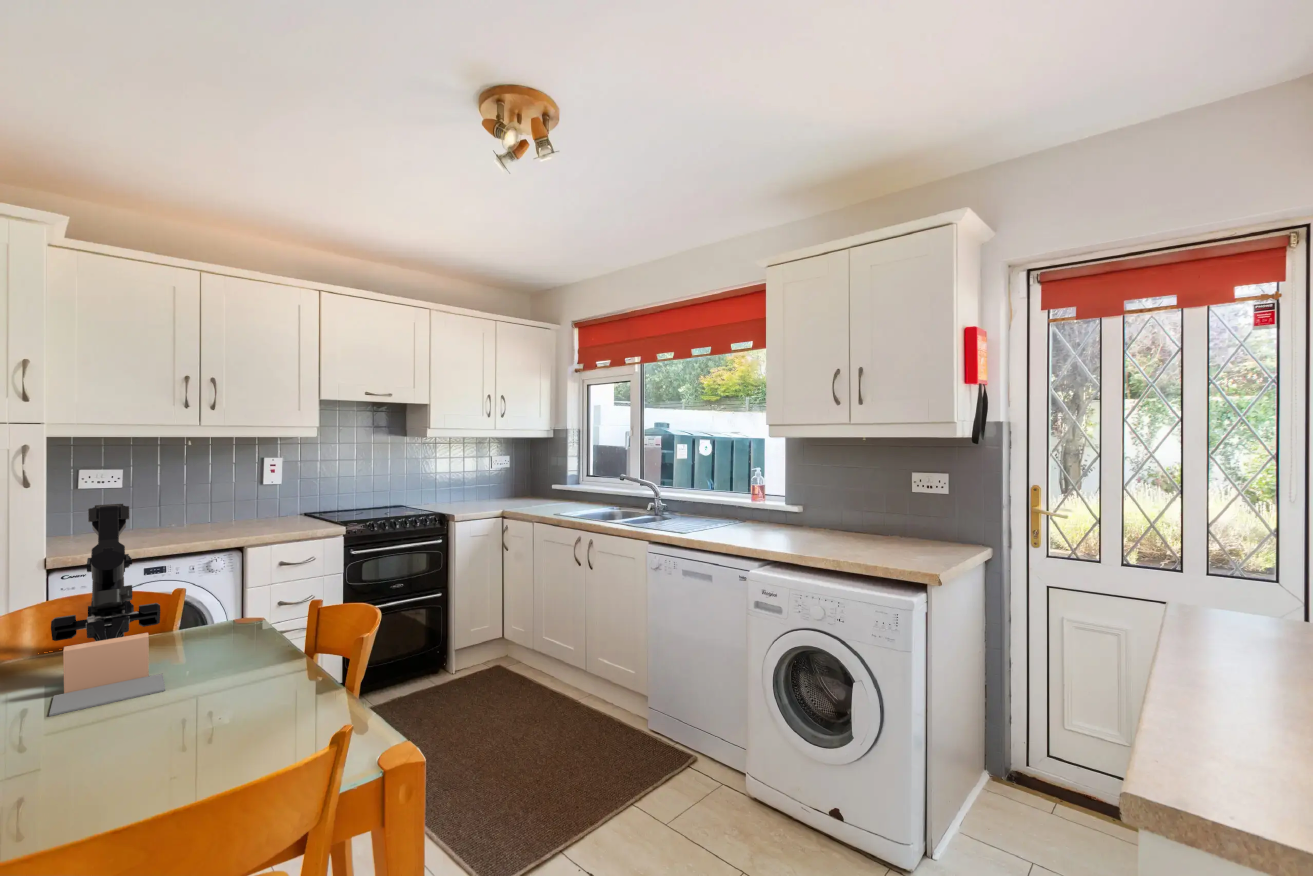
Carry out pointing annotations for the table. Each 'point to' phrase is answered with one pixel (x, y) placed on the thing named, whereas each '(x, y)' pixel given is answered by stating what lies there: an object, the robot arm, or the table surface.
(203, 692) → the table surface
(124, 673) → the terracotta tile
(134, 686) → the mat
